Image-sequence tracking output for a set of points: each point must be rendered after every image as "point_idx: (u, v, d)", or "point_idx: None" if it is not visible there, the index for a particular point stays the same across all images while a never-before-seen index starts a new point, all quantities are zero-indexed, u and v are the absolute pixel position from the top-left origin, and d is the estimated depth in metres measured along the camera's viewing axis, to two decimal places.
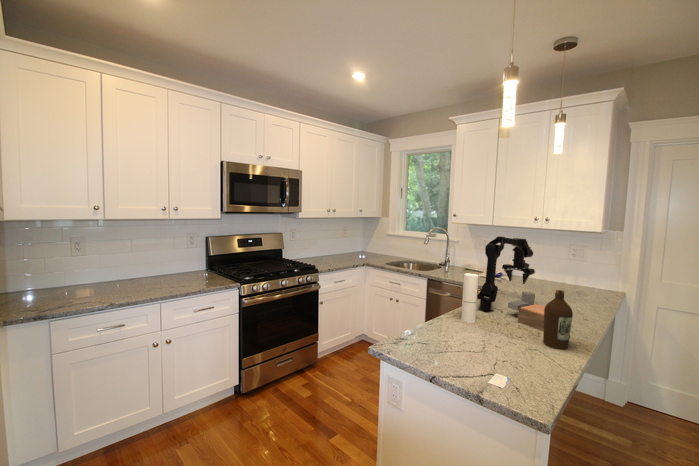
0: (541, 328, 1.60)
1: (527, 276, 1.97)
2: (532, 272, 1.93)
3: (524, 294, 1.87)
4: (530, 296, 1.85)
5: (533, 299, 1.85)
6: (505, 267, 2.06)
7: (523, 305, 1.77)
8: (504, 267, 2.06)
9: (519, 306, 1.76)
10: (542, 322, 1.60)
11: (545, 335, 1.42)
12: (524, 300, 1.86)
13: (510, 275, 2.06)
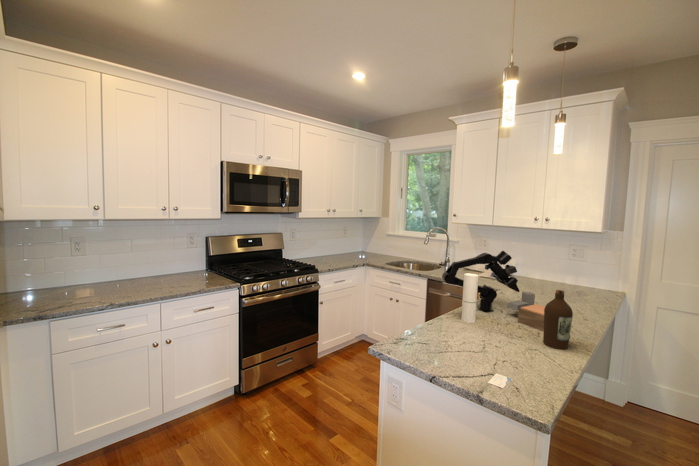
0: (541, 328, 1.60)
1: (515, 285, 1.82)
2: (513, 282, 1.78)
3: (524, 294, 1.87)
4: (530, 296, 1.85)
5: (533, 299, 1.85)
6: (497, 279, 1.94)
7: (523, 305, 1.77)
8: (496, 279, 1.95)
9: (519, 306, 1.76)
10: (542, 322, 1.60)
11: (545, 335, 1.42)
12: (524, 300, 1.86)
13: None
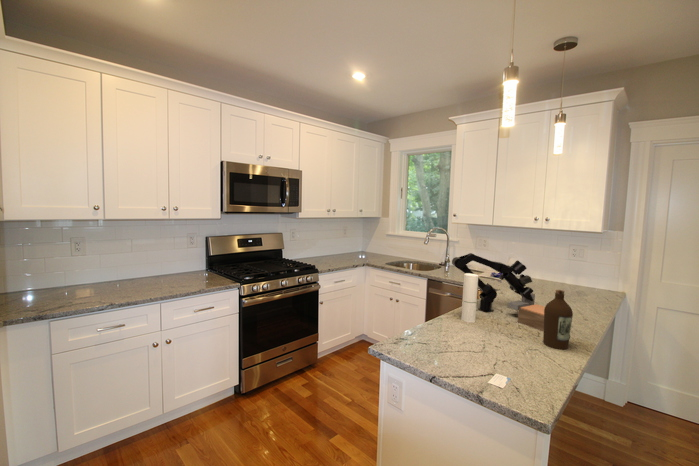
0: (541, 328, 1.60)
1: None
2: (528, 293, 1.78)
3: None
4: None
5: (533, 299, 1.85)
6: (511, 289, 1.94)
7: (523, 305, 1.77)
8: (511, 289, 1.95)
9: (519, 306, 1.76)
10: (542, 322, 1.60)
11: (545, 335, 1.42)
12: (524, 300, 1.86)
13: None
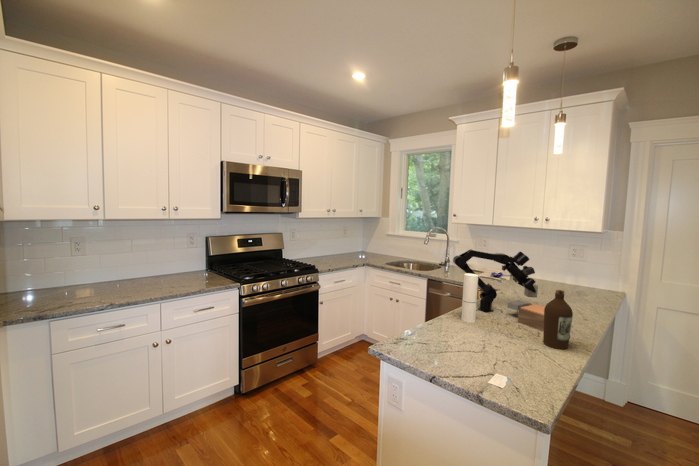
0: (541, 328, 1.60)
1: (531, 285, 1.81)
2: (530, 284, 1.76)
3: None
4: None
5: (536, 290, 1.83)
6: None
7: (523, 305, 1.77)
8: (514, 280, 1.93)
9: (519, 306, 1.76)
10: (542, 322, 1.60)
11: (545, 335, 1.42)
12: (527, 291, 1.85)
13: None
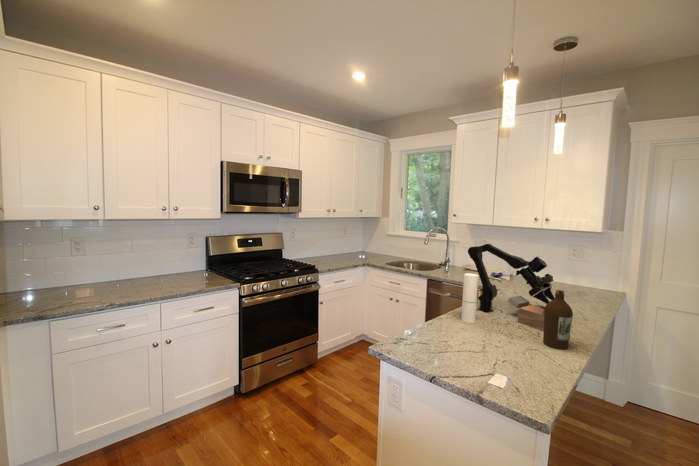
0: (541, 328, 1.60)
1: (542, 295, 1.62)
2: (535, 291, 1.61)
3: None
4: None
5: None
6: None
7: (523, 303, 1.77)
8: None
9: (519, 304, 1.76)
10: (542, 322, 1.60)
11: (545, 335, 1.42)
12: (543, 311, 1.66)
13: (549, 295, 1.69)
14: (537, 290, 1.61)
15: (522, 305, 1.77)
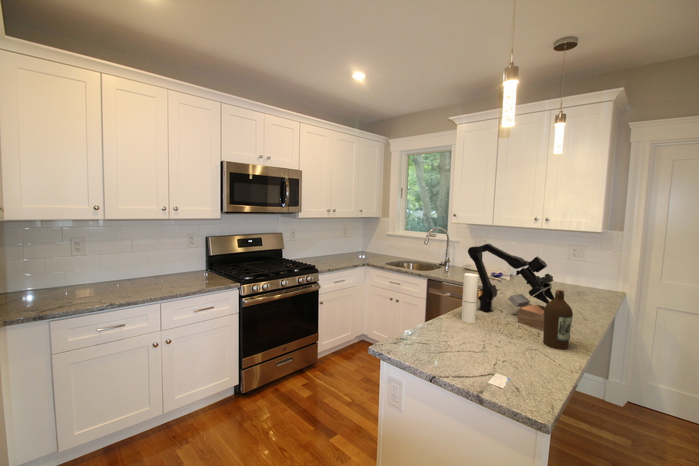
0: (541, 328, 1.60)
1: (542, 295, 1.62)
2: (535, 291, 1.61)
3: None
4: None
5: None
6: None
7: (524, 303, 1.77)
8: None
9: (520, 303, 1.75)
10: (542, 322, 1.60)
11: (545, 335, 1.42)
12: None
13: (549, 295, 1.69)
14: (537, 290, 1.61)
15: (522, 304, 1.77)
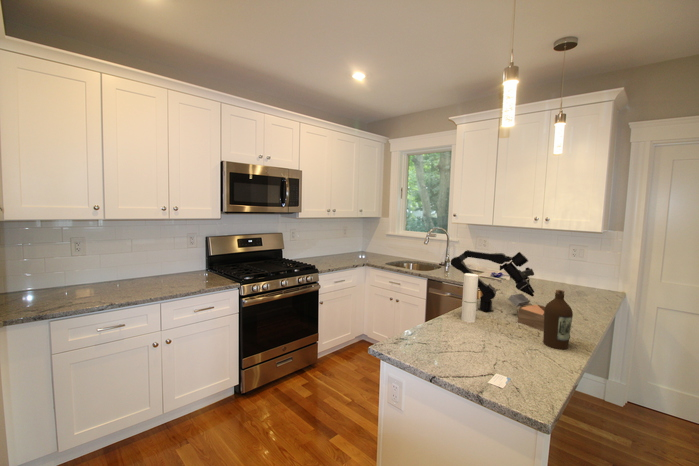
0: (541, 328, 1.60)
1: (527, 288, 1.73)
2: (522, 285, 1.71)
3: None
4: None
5: None
6: None
7: (524, 302, 1.77)
8: None
9: (520, 303, 1.75)
10: (542, 322, 1.60)
11: (545, 335, 1.42)
12: None
13: (529, 287, 1.82)
14: (524, 284, 1.70)
15: (522, 304, 1.77)
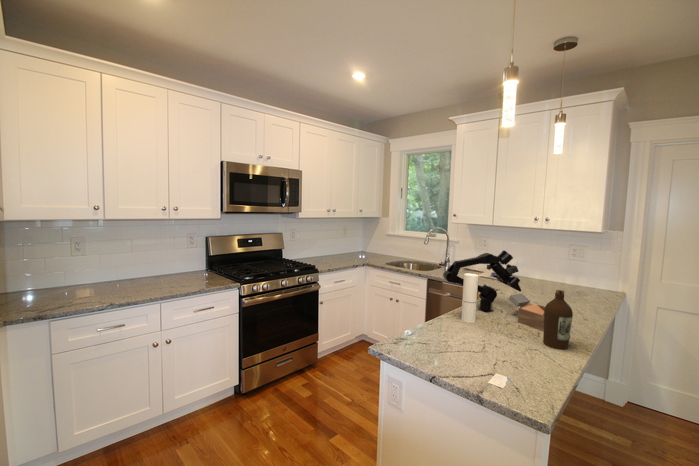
0: (541, 328, 1.60)
1: (517, 284, 1.82)
2: (515, 282, 1.79)
3: None
4: None
5: None
6: (498, 279, 1.95)
7: (524, 302, 1.77)
8: (497, 279, 1.96)
9: (520, 303, 1.75)
10: (542, 322, 1.60)
11: (545, 335, 1.42)
12: None
13: None
14: (517, 281, 1.79)
15: (522, 304, 1.77)
